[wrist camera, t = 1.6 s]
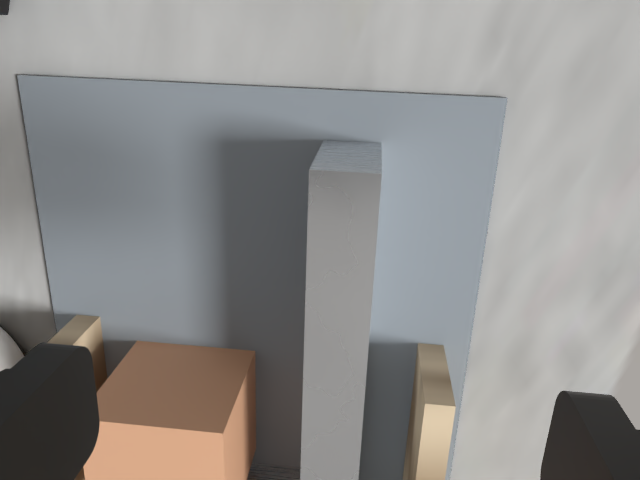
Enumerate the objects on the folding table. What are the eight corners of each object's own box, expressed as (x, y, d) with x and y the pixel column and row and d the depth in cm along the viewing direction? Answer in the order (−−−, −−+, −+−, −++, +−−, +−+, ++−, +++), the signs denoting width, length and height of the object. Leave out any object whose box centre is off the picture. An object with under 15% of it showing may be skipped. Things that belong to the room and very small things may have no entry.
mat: (20, 74, 20) (17, 74, 20) (506, 97, 19) (507, 98, 18) (85, 502, 27) (83, 505, 27) (439, 541, 26) (439, 545, 25)
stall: (79, 312, 23) (21, 366, 20) (443, 342, 22) (455, 406, 18) (104, 496, 27) (59, 571, 23) (418, 531, 26) (424, 616, 22)
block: (137, 340, 23) (76, 418, 19) (255, 350, 23) (222, 433, 18) (146, 437, 25) (92, 530, 20) (256, 448, 25) (226, 546, 20)
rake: (103, 127, 20) (32, 153, 16) (381, 142, 19) (382, 173, 15) (139, 474, 26) (94, 558, 22) (354, 497, 25) (350, 589, 21)
